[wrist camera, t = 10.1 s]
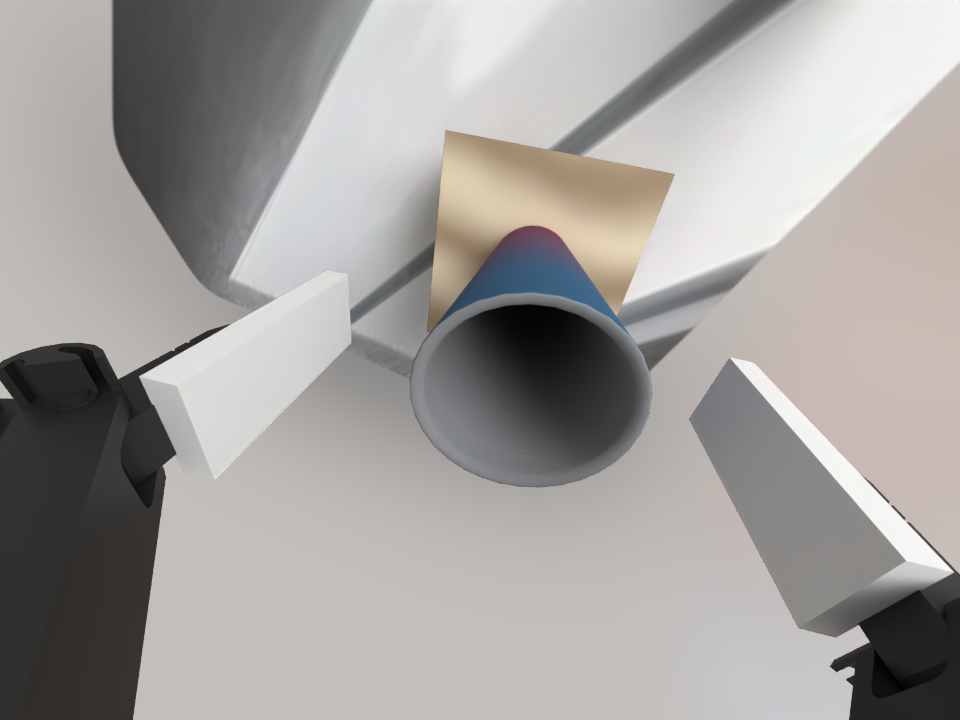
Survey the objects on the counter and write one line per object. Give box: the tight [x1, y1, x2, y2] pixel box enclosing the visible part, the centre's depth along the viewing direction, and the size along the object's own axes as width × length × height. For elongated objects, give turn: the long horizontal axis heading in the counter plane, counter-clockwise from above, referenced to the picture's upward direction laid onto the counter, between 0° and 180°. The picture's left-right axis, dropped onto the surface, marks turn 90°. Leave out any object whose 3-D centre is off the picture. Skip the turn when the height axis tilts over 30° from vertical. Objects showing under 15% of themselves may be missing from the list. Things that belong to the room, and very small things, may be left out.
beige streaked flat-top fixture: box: [427, 130, 675, 332], centre depth 26 cm, size 13×13×8 cm
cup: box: [410, 225, 652, 487], centre depth 16 cm, size 7×7×15 cm
